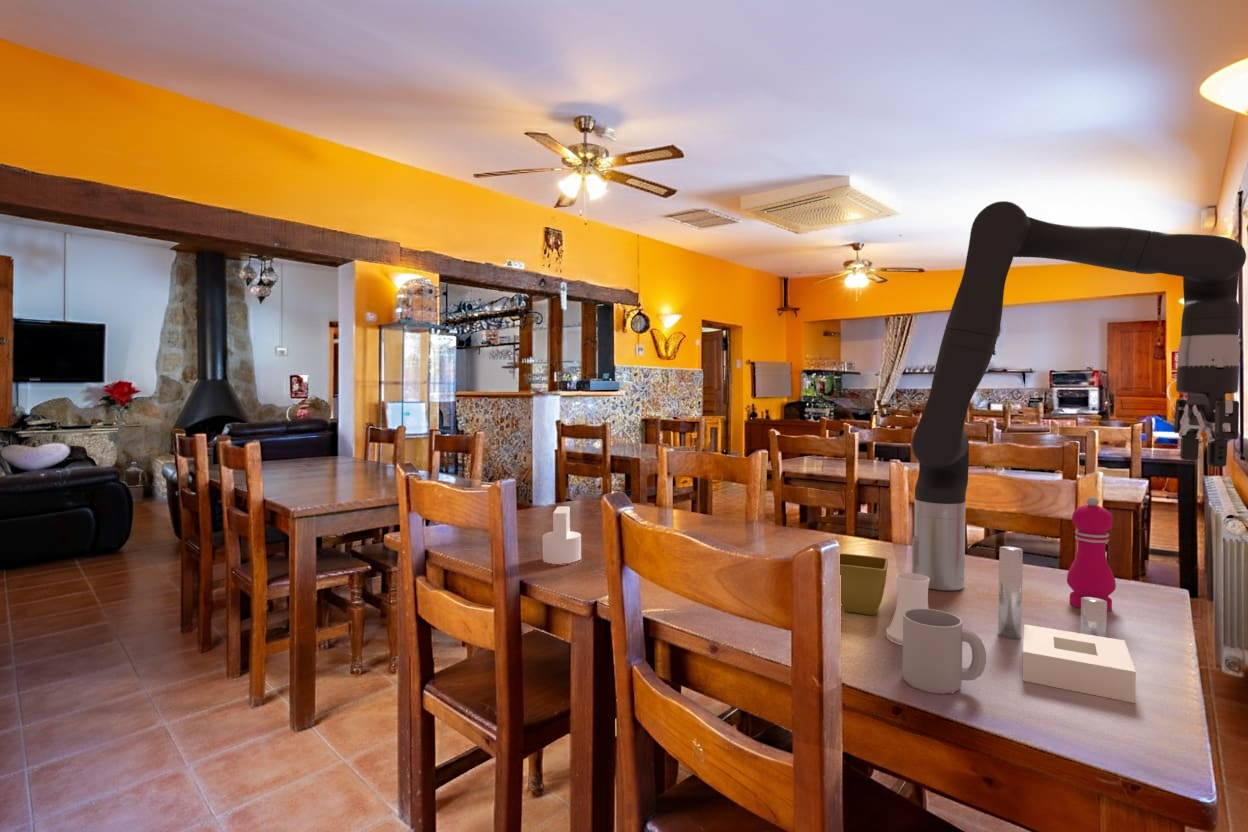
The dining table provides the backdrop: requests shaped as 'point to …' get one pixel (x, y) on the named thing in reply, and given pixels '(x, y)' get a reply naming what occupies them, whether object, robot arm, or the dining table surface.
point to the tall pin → (1010, 592)
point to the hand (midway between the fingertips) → (1202, 463)
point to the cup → (938, 651)
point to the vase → (907, 601)
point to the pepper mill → (1091, 555)
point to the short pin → (1093, 616)
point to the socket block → (1078, 663)
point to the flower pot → (862, 582)
